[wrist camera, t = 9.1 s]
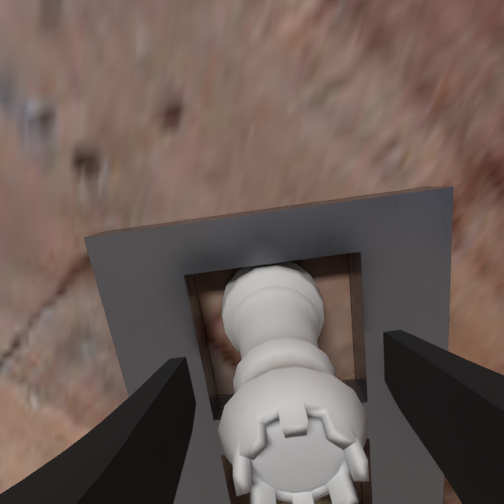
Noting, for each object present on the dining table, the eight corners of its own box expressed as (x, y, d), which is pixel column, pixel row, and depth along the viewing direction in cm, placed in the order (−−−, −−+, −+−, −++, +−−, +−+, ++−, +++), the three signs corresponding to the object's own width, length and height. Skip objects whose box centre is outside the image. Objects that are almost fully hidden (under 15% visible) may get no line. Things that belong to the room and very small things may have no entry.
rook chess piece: (313, 346, 13) (398, 568, 6) (221, 342, 13) (179, 560, 6) (324, 258, 12) (448, 379, 5) (224, 252, 12) (179, 366, 5)
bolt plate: (427, 186, 12) (554, 187, 7) (424, 532, 16) (498, 679, 11) (104, 231, 12) (4, 262, 7) (190, 556, 17) (165, 710, 12)
